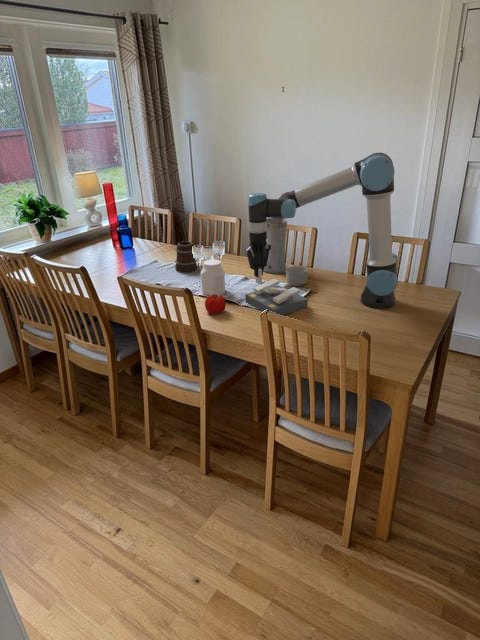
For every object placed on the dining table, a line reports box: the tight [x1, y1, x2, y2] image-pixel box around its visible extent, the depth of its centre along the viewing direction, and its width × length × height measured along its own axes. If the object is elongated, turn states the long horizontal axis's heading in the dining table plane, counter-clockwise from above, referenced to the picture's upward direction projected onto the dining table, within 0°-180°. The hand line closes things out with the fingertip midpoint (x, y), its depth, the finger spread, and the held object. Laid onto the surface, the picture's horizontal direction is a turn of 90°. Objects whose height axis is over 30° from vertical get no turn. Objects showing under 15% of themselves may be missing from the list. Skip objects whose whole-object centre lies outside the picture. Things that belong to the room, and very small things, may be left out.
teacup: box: [285, 264, 309, 287], centre depth 221 cm, size 14×11×8 cm
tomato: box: [204, 294, 227, 315], centre depth 192 cm, size 9×9×8 cm
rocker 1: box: [253, 278, 280, 293], centre depth 201 cm, size 4×12×2 cm, turn 125°
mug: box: [174, 240, 198, 273], centre depth 243 cm, size 16×12×15 cm
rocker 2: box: [263, 287, 288, 293], centre depth 196 cm, size 4×12×2 cm, turn 125°
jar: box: [200, 259, 226, 296], centre depth 211 cm, size 12×10×15 cm
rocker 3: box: [273, 286, 301, 304], centre depth 191 cm, size 4×12×2 cm, turn 125°
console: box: [244, 281, 309, 316], centre depth 197 cm, size 21×19×8 cm
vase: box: [263, 218, 288, 275], centre depth 234 cm, size 13×14×28 cm
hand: (258, 282), depth 197 cm, fingers closed
